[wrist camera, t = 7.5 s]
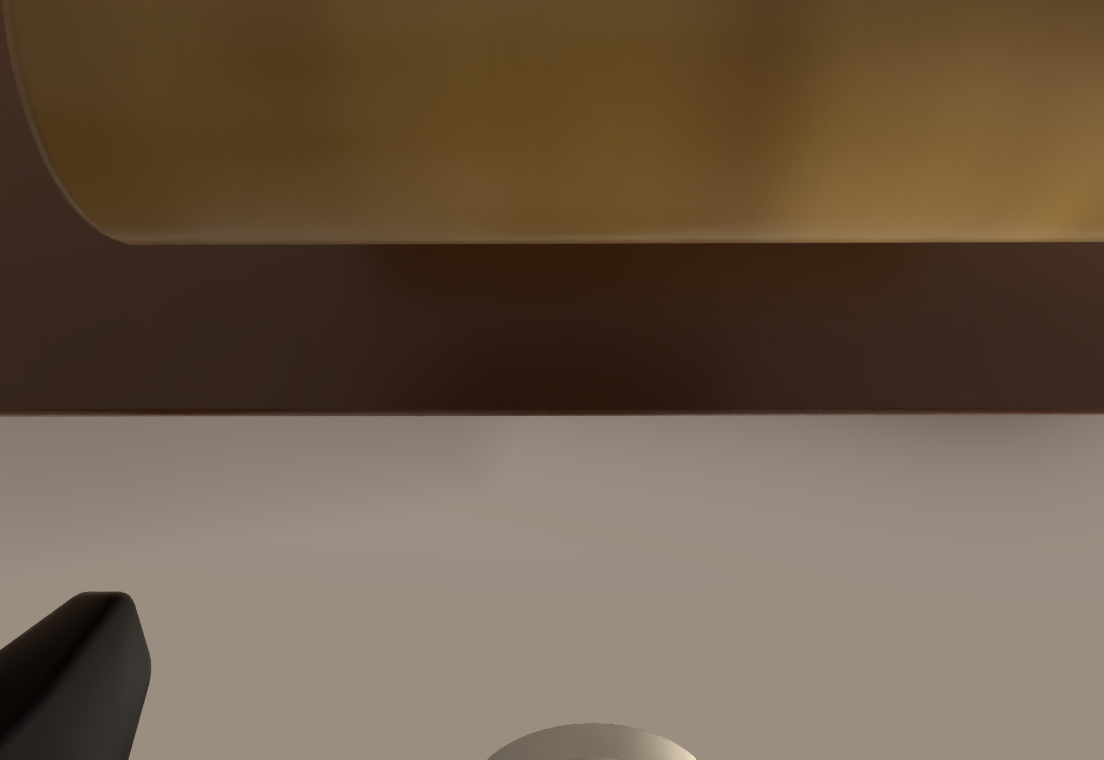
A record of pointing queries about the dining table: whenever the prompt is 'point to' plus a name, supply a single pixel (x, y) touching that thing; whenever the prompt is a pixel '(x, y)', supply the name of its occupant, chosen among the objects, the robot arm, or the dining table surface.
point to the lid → (551, 207)
